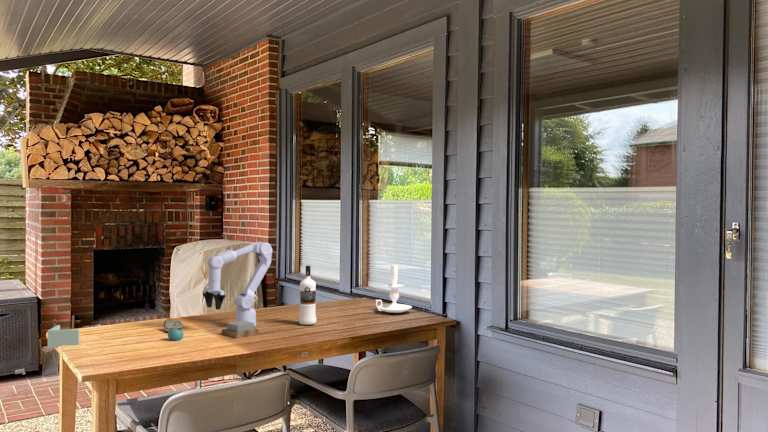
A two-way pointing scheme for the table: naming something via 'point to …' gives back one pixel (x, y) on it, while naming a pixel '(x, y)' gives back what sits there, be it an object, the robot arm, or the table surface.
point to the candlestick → (393, 295)
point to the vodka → (307, 300)
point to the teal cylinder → (175, 334)
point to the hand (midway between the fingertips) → (213, 308)
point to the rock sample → (172, 324)
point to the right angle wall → (62, 337)
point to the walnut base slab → (239, 333)
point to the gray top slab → (240, 326)
